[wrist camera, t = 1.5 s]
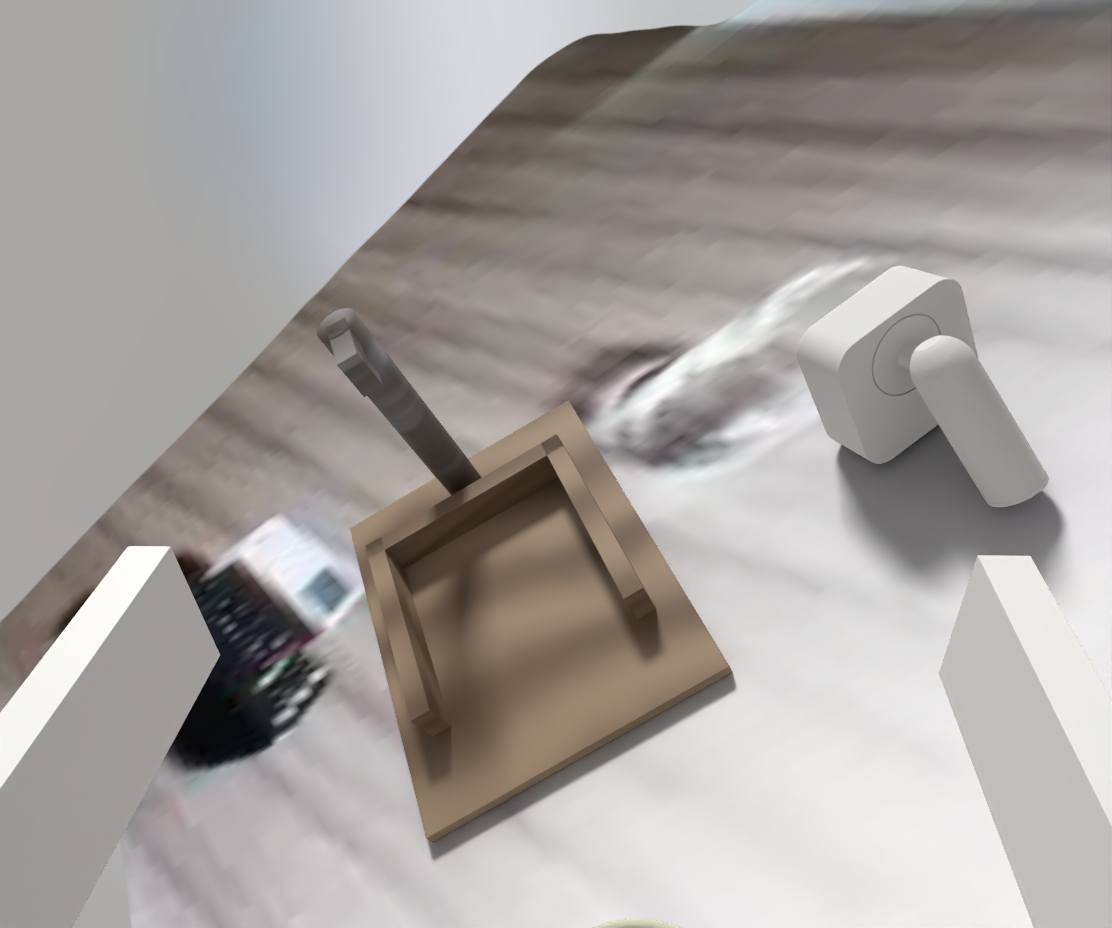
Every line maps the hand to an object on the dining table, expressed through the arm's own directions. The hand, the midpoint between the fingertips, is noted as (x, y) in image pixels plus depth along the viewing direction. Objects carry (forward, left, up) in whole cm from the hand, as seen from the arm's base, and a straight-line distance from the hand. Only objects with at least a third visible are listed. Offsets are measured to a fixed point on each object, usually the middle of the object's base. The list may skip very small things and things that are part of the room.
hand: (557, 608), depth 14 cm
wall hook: (-6, -24, -29) cm, 38 cm away
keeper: (+18, -14, -29) cm, 36 cm away
